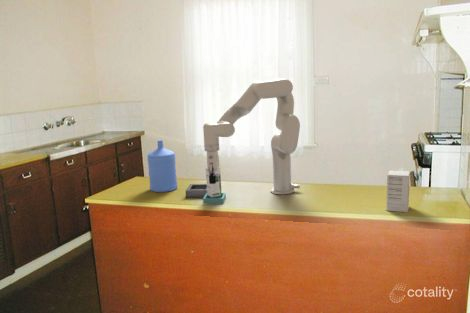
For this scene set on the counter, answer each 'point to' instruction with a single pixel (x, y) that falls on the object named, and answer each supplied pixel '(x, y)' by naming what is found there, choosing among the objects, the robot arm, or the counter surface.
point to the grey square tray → (196, 190)
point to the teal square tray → (214, 199)
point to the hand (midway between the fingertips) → (213, 181)
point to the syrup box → (214, 188)
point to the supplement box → (398, 191)
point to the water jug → (162, 169)
